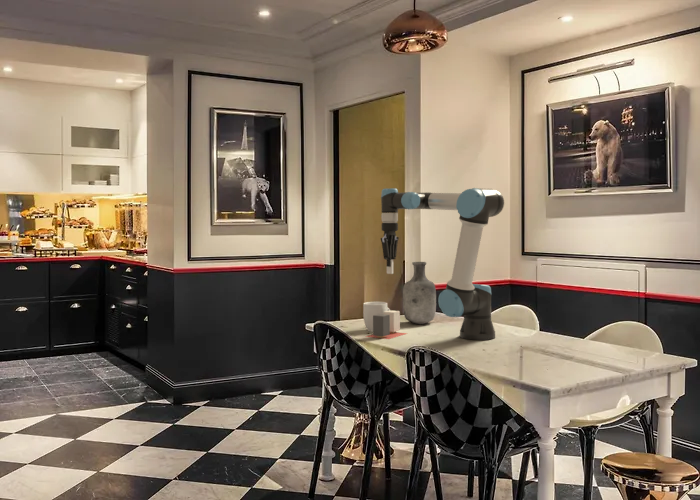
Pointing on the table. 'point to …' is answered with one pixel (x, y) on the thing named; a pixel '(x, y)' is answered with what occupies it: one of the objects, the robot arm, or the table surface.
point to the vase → (419, 297)
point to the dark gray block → (381, 325)
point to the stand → (392, 325)
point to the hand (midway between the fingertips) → (390, 273)
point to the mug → (373, 312)
